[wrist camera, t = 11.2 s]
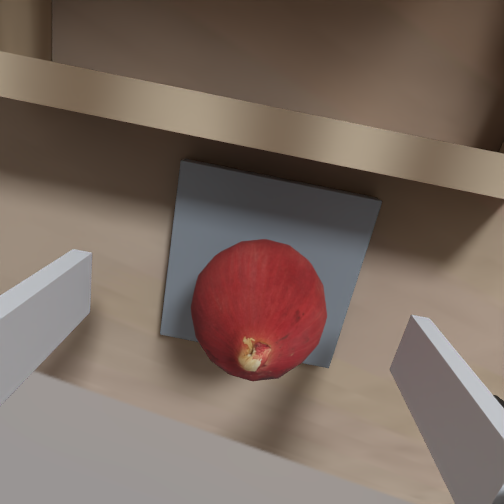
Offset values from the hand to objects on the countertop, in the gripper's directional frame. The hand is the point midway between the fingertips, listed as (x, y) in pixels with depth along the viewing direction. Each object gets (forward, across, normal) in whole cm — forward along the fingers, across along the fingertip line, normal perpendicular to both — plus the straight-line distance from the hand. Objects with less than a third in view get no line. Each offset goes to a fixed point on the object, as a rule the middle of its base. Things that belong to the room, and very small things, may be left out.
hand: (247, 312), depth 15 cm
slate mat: (+6, 0, 0) cm, 6 cm away
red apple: (+5, +1, 0) cm, 5 cm away
